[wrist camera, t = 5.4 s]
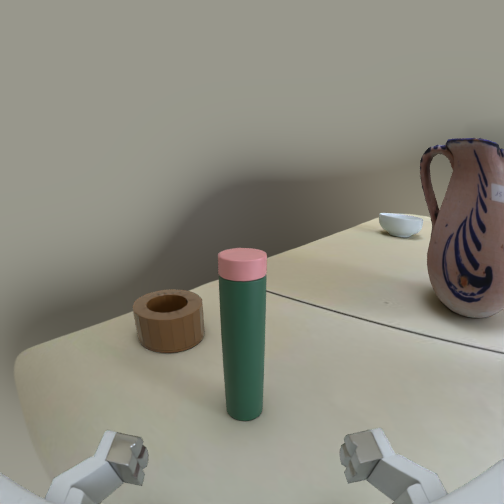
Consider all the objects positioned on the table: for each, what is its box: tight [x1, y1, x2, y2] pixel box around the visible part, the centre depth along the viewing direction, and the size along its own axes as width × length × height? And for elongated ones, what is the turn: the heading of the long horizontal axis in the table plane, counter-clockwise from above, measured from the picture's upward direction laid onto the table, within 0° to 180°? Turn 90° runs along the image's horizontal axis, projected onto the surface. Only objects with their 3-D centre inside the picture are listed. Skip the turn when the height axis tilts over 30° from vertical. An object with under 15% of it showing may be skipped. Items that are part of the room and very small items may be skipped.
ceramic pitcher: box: [420, 138, 504, 318], centre depth 31 cm, size 18×21×25 cm
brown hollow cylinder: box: [132, 289, 205, 353], centre depth 30 cm, size 8×8×4 cm
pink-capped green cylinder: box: [218, 248, 267, 421], centre depth 18 cm, size 3×3×13 cm
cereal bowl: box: [379, 213, 423, 237], centre depth 88 cm, size 17×17×7 cm
